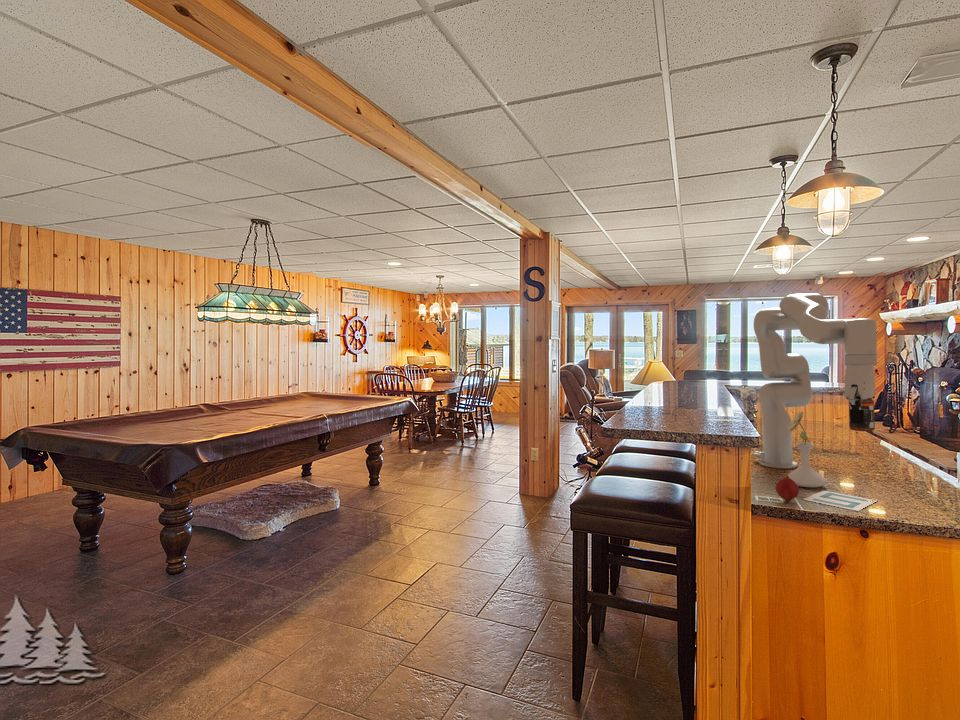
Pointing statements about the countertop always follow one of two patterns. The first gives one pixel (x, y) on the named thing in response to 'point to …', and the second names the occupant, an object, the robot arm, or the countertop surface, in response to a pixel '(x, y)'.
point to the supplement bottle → (865, 417)
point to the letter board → (840, 500)
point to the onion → (787, 489)
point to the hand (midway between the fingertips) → (861, 421)
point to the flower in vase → (804, 460)
